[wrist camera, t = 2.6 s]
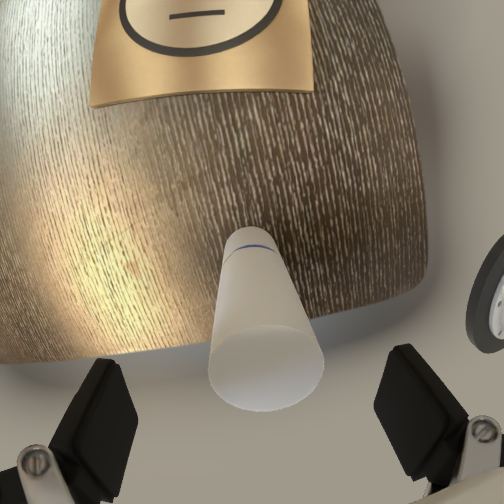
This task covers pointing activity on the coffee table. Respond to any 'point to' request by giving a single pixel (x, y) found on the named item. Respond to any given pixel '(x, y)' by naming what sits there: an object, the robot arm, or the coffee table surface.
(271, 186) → the coffee table surface
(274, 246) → the tube
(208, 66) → the drawing board
